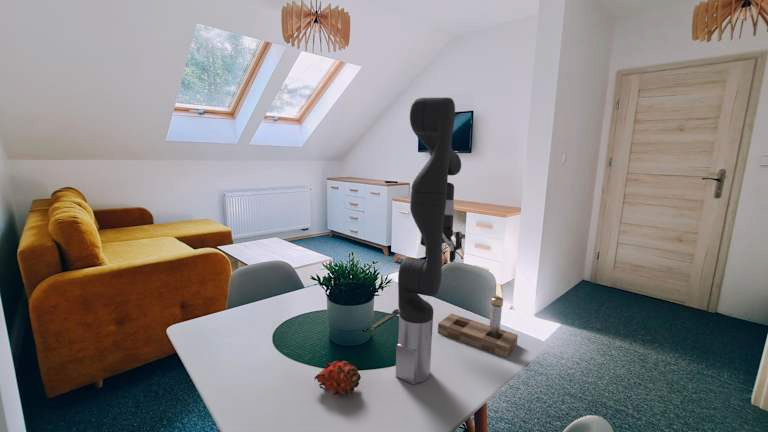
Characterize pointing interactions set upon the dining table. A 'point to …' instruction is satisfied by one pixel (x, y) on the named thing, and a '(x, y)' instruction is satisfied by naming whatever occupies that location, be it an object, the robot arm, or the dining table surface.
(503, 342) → the stand
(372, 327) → the tomahawk
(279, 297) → the dining table surface
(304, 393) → the dining table surface
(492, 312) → the gold-capped metal cylinder
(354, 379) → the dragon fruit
